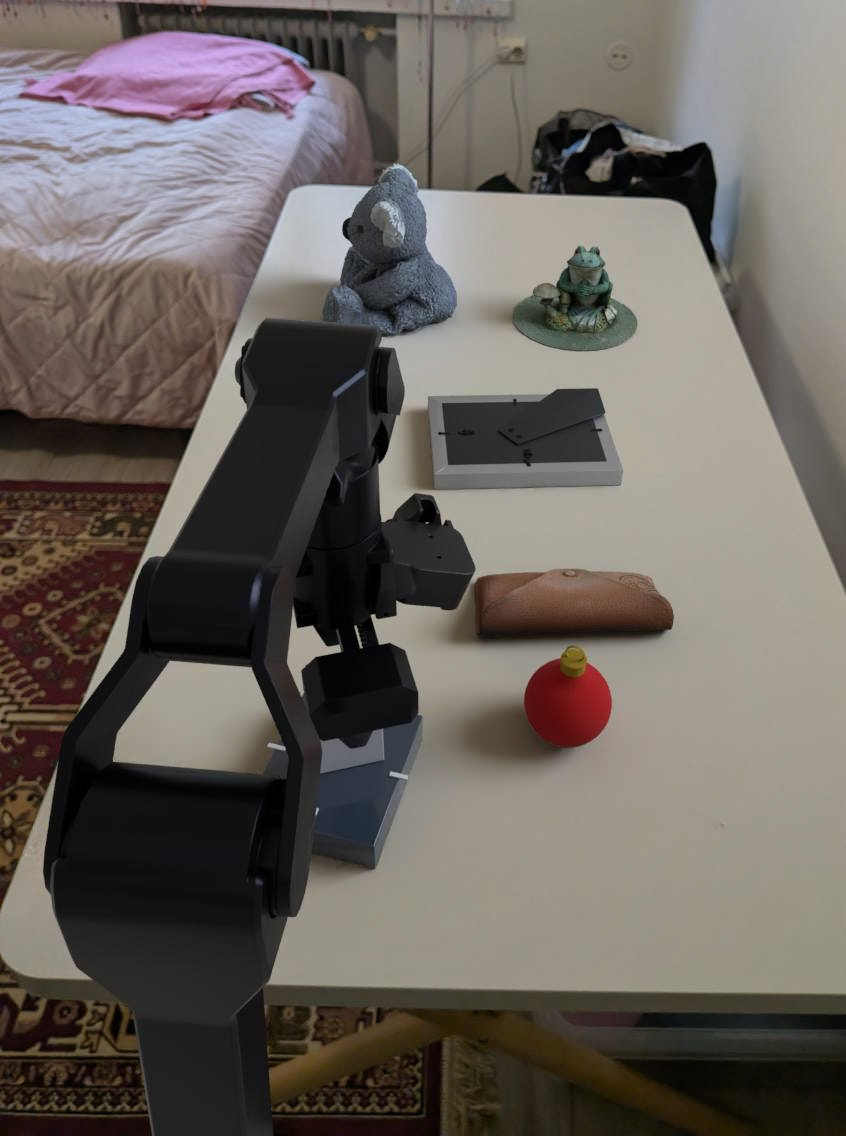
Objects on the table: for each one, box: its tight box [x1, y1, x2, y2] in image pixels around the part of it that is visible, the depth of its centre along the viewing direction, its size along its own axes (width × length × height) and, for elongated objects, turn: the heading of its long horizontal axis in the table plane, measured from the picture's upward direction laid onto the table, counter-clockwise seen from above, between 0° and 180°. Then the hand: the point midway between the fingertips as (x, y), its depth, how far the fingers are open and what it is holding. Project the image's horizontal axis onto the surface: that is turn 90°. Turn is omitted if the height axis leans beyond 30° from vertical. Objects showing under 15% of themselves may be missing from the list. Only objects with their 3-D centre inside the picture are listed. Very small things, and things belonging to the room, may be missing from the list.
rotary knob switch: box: [262, 692, 424, 870], centre depth 74 cm, size 12×11×3 cm
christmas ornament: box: [523, 644, 613, 748], centre depth 76 cm, size 7×7×10 cm
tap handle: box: [320, 729, 384, 774], centre depth 71 cm, size 7×2×5 cm, turn 106°
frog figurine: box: [512, 245, 638, 352], centre depth 133 cm, size 18×18×12 cm
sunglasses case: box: [474, 568, 675, 638], centre depth 89 cm, size 18×7×7 cm, turn 95°
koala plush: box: [321, 162, 458, 337], centre depth 130 cm, size 17×18×20 cm
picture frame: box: [427, 387, 624, 490], centre depth 111 cm, size 16×3×21 cm
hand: (345, 692), depth 66 cm, fingers open, 9 cm apart
